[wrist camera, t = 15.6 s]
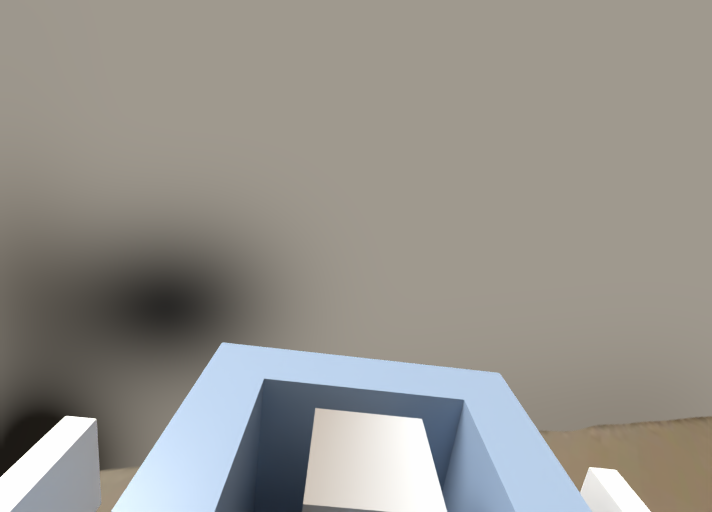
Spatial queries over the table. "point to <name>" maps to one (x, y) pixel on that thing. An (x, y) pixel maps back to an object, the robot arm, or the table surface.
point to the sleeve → (344, 393)
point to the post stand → (370, 465)
